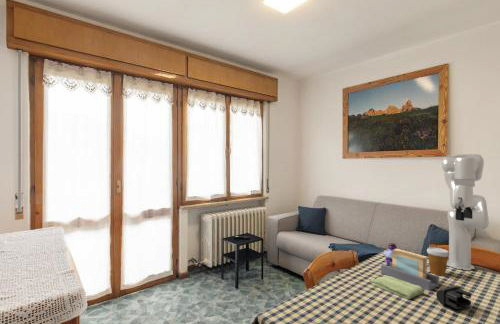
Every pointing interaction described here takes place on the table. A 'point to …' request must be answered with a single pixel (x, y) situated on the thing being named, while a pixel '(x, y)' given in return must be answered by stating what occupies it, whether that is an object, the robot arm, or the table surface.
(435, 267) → the disposable coffee cup
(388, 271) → the picture stand
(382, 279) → the washcloth
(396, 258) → the wooden picture frame
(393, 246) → the potion bottle
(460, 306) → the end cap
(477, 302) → the table surface
